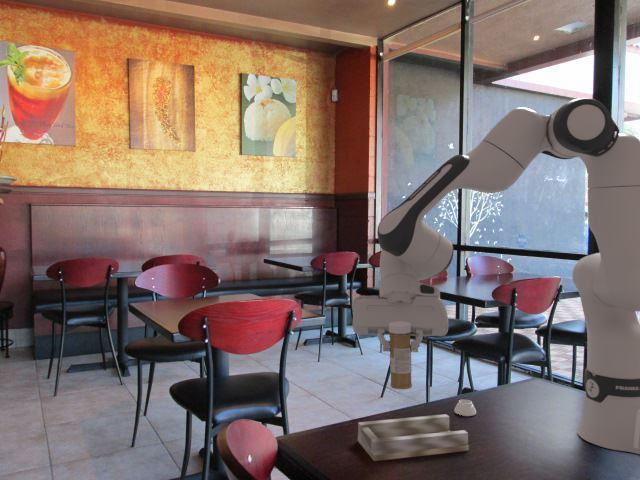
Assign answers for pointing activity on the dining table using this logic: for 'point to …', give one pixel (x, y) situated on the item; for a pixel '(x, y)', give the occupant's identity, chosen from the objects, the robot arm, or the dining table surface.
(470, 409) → the lidless jar
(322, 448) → the dining table surface
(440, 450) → the track
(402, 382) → the sprinkles bottle
